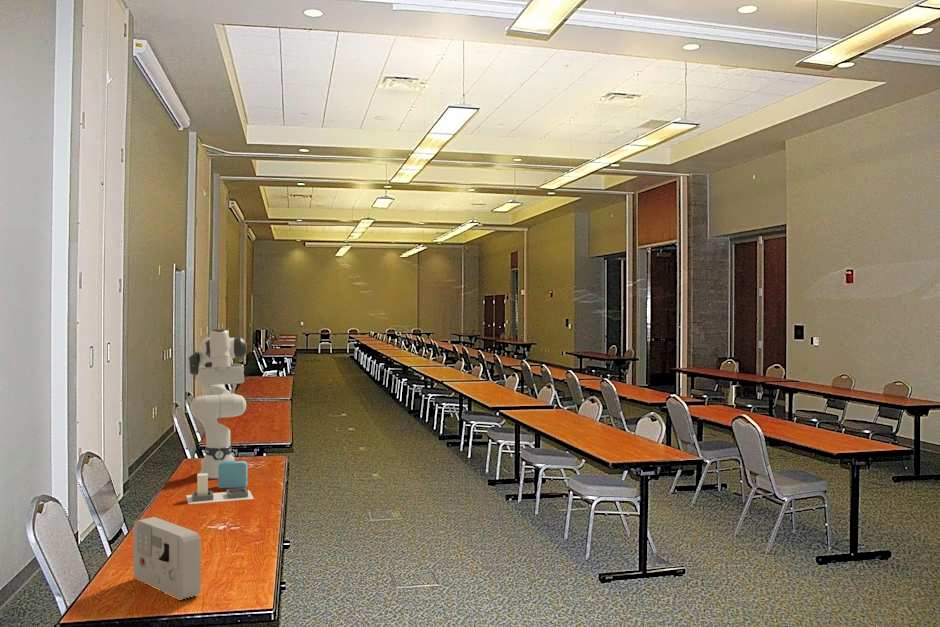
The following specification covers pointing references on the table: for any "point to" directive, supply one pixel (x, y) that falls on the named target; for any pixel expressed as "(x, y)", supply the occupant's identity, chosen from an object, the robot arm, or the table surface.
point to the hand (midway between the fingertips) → (221, 394)
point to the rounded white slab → (167, 557)
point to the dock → (220, 496)
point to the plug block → (202, 484)
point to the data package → (232, 474)
